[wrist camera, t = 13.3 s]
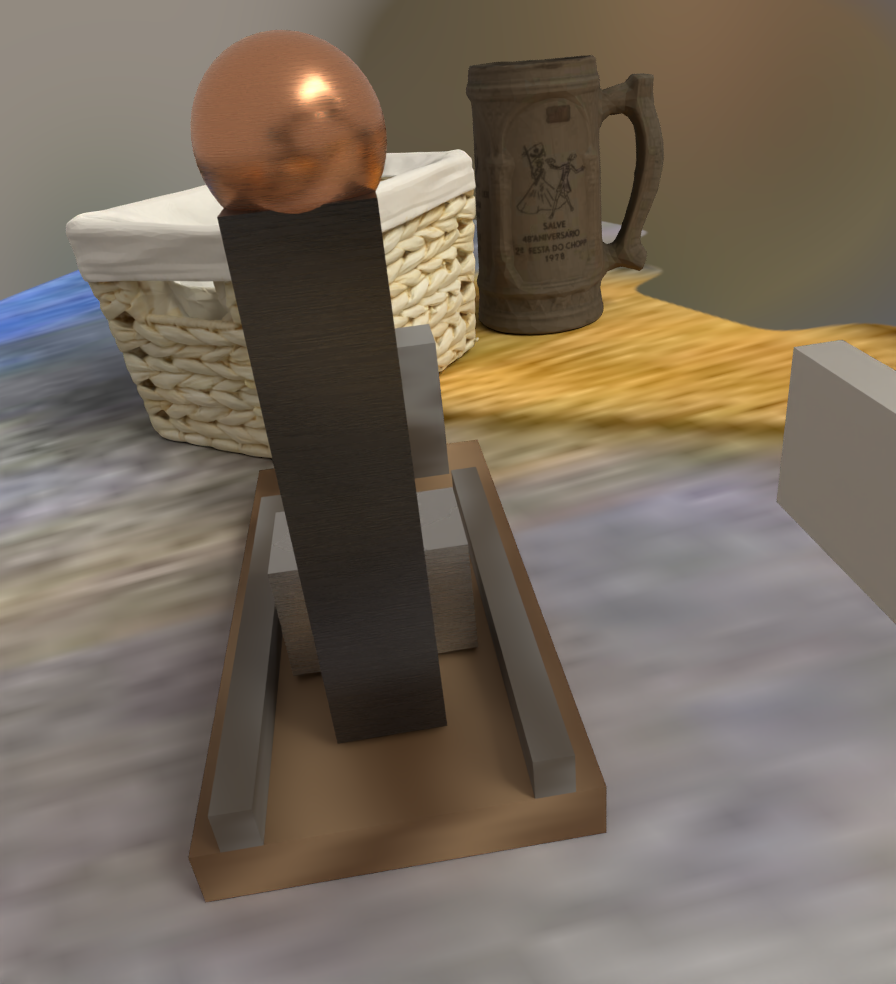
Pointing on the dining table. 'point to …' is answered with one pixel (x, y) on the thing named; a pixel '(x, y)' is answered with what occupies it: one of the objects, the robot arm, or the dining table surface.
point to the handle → (332, 382)
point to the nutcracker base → (400, 757)
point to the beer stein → (553, 189)
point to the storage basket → (212, 304)
